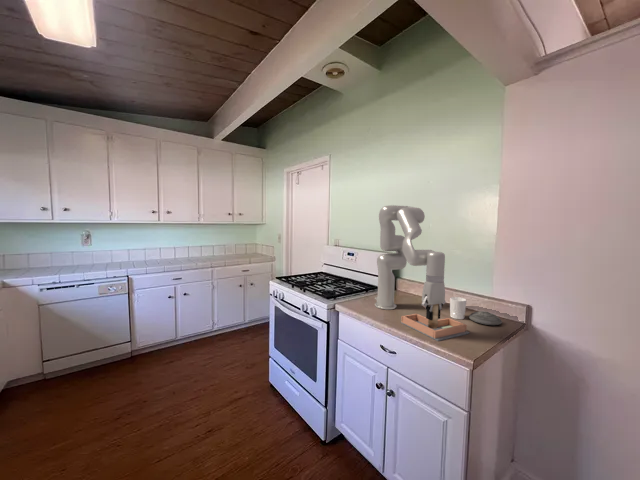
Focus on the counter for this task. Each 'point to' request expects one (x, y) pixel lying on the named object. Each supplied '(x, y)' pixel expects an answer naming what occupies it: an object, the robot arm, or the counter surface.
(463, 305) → the white cup
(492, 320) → the flying saucer
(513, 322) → the counter surface
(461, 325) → the track
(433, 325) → the peg
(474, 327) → the counter surface
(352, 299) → the counter surface
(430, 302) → the robot arm
